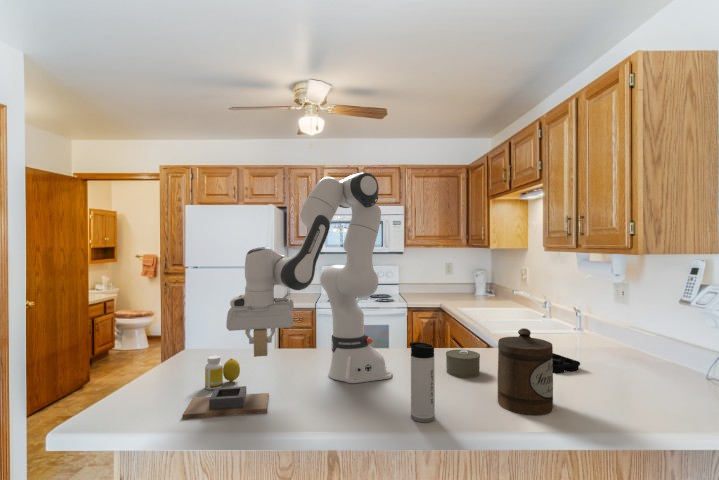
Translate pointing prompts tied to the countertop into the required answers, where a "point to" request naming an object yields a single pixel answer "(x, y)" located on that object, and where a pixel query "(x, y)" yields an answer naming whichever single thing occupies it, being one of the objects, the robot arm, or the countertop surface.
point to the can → (463, 363)
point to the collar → (227, 398)
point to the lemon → (231, 370)
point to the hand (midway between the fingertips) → (260, 342)
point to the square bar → (260, 342)
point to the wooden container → (525, 374)
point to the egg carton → (564, 364)
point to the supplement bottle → (213, 373)
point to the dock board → (251, 406)
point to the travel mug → (422, 382)
